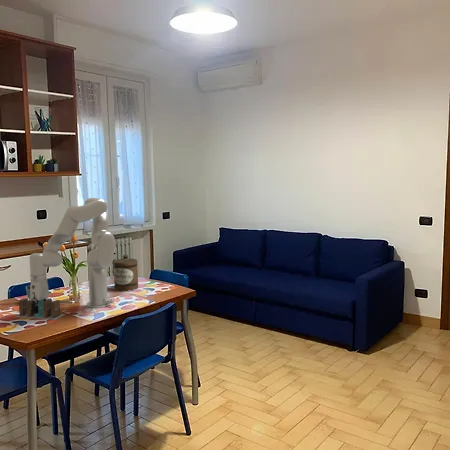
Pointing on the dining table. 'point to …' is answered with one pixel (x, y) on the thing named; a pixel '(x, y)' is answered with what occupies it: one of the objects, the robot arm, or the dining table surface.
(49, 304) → the domino
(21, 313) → the domino
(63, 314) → the felt runner
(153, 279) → the dining table surface
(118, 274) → the wooden container
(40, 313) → the teal domino
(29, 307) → the domino
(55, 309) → the domino
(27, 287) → the flower pot
